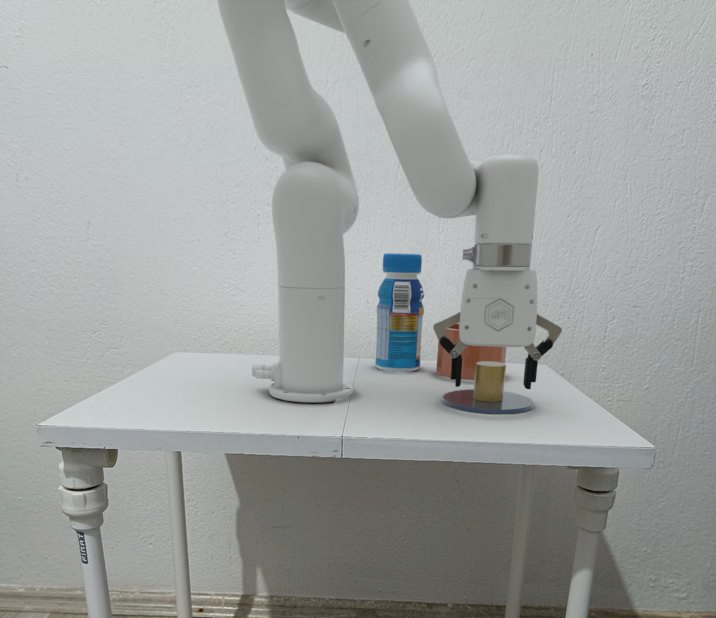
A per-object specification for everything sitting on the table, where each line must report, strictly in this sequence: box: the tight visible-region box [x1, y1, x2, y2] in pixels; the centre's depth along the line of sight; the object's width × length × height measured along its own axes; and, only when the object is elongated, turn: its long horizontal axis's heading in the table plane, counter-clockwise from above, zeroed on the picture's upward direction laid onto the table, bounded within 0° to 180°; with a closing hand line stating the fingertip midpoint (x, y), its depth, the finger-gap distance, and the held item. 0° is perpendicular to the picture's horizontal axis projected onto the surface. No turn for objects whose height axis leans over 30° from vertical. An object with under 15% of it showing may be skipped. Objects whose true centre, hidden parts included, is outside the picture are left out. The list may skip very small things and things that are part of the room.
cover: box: [441, 361, 535, 415], centre depth 94 cm, size 13×13×6 cm
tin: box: [435, 323, 508, 381], centre depth 115 cm, size 12×12×8 cm
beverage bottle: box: [375, 252, 425, 373], centre depth 118 cm, size 8×8×20 cm
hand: (492, 386), depth 94 cm, fingers open, 9 cm apart
